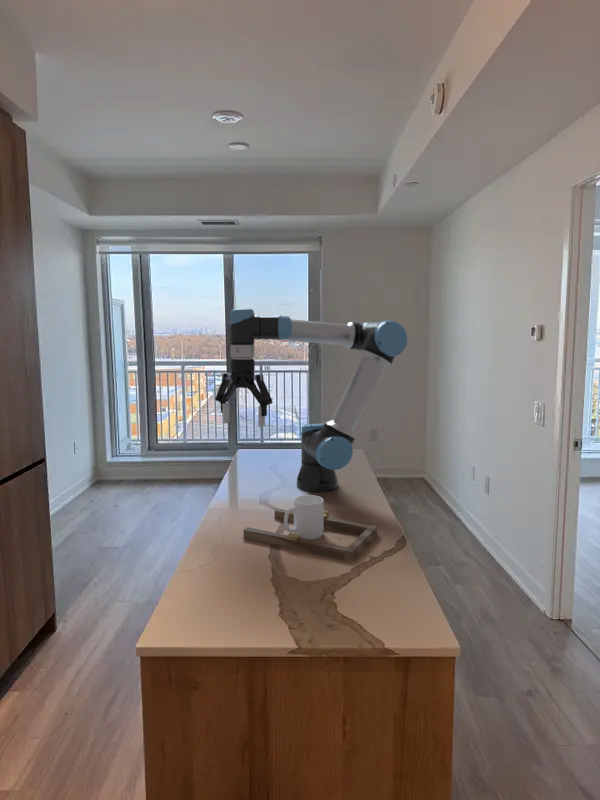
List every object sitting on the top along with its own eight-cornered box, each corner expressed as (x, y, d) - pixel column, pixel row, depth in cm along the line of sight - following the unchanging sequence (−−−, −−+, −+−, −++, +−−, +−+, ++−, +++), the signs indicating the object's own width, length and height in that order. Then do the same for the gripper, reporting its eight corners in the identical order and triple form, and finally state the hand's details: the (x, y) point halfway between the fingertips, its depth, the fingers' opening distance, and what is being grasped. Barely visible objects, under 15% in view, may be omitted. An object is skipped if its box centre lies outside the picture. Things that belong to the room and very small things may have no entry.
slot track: (282, 513, 164) (282, 503, 163) (380, 531, 149) (381, 519, 149) (243, 538, 144) (243, 527, 144) (351, 561, 129) (351, 549, 129)
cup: (329, 536, 145) (329, 501, 144) (291, 545, 139) (291, 508, 138) (313, 526, 153) (313, 493, 151) (277, 535, 146) (276, 500, 145)
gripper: (203, 358, 168) (205, 423, 170) (270, 360, 156) (271, 429, 159) (217, 356, 174) (218, 419, 177) (282, 358, 163) (283, 425, 166)
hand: (243, 424), depth 168 cm, fingers open, 13 cm apart
